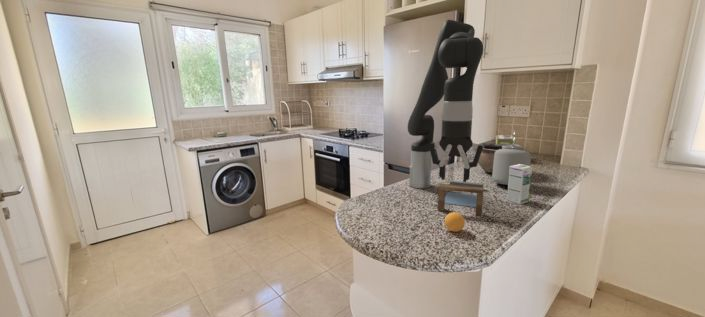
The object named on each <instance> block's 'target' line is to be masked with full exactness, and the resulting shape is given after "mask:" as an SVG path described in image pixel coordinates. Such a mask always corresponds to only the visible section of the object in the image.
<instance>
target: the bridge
mask: <svg viewBox="0 0 705 317" xmlns="http://www.w3.org/2000/svg"><path fill="white" fill-rule="evenodd" d="M484 189H485V188H484V187H483V188H478V187H468V186H458V185H450V183H449V184H447V183H439V185H438V191H437V192H438V193H437V194H438V196H437V211H438V212H444V211H445V208H446V207H445V205H446V204H445V196H446V191H451V192H460V193H461V192H462V193H470V194H476V195H477V200H476V207H475V214H474V215H475V217H481V218H482V216H483V204H484V191H485V190H484Z"/></svg>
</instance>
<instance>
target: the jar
mask: <svg viewBox="0 0 705 317" xmlns="http://www.w3.org/2000/svg"><path fill="white" fill-rule="evenodd" d="M513 135H516V134H515V130H513ZM513 137H514V136H513ZM511 138H512V137H511ZM514 139H515V140H516V137H514ZM514 139H513V140H514ZM520 146H521V145H520ZM520 146H502V149H499V150H497V151H496V152H495V154H494V164H493V173H491V174H492V175H491V179H492V181H493V182H494V183H496V184H499V185H506V186H508V181H509V168H510V166H513V165H518V164H522V165H528V166H531V159H532V154H531V152H529V151H527V150H525V146H522V147H520Z"/></svg>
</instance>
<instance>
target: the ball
mask: <svg viewBox="0 0 705 317" xmlns="http://www.w3.org/2000/svg"><path fill="white" fill-rule="evenodd" d="M465 222H466V221H465V218H464V216H463V215H461V213H459V212H454V211H452V212H449V213H448V214H447V215H446V216H445V218H444V224H445V227H446V228H447V229H448V230H449V231H451V232H454V233H455V232H461V231H462V230H463V229H464V227H465V224H466V223H465Z"/></svg>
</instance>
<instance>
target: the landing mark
mask: <svg viewBox="0 0 705 317" xmlns="http://www.w3.org/2000/svg"><path fill="white" fill-rule="evenodd" d="M476 200H477V194H472V193H470V194H469V193H463V192H462V193H461V192H454V191H447V192H446V193H445V205H455V206H463V207H468V208H469V207H470V208H476Z"/></svg>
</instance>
